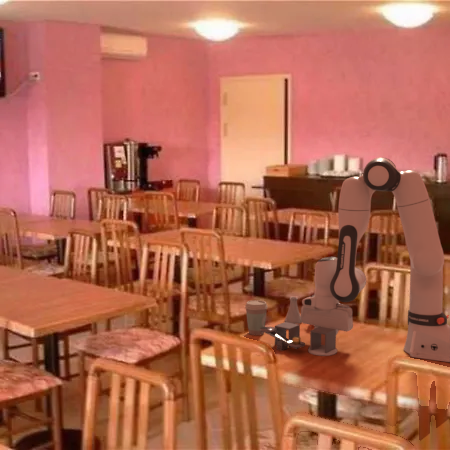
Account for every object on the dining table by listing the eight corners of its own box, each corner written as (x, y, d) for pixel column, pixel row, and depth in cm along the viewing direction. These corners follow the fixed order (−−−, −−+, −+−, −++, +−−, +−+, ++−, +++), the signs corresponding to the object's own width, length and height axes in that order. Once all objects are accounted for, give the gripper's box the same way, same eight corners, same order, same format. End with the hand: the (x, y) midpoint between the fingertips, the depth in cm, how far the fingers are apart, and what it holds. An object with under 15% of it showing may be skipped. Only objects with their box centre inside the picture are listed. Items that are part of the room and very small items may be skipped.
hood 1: (299, 343, 279) (299, 324, 278) (289, 347, 274) (289, 328, 273) (285, 340, 283) (285, 321, 282) (275, 344, 278) (275, 325, 277)
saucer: (342, 350, 270) (342, 348, 270) (327, 357, 263) (327, 355, 262) (318, 345, 276) (318, 343, 276) (302, 352, 269) (302, 350, 269)
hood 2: (335, 348, 270) (335, 329, 269) (326, 353, 265) (326, 333, 264) (319, 345, 274) (320, 326, 273) (310, 349, 269) (310, 330, 268)
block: (333, 343, 279) (334, 331, 279) (328, 345, 276) (328, 333, 275) (324, 341, 282) (324, 329, 281) (318, 343, 279) (318, 331, 278)
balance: (308, 351, 270) (308, 334, 269) (298, 355, 265) (298, 338, 264) (266, 342, 281) (266, 325, 280) (256, 346, 276) (256, 329, 275)
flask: (301, 325, 304) (301, 300, 303) (283, 324, 305) (283, 299, 304) (303, 320, 311) (303, 296, 310) (285, 319, 312) (285, 295, 311)
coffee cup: (265, 336, 288) (265, 305, 286) (243, 335, 290) (243, 304, 288) (269, 330, 296) (269, 300, 295) (247, 329, 298) (247, 299, 296)
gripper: (356, 304, 273) (356, 341, 275) (307, 296, 285) (307, 332, 287) (347, 307, 268) (347, 346, 270) (298, 299, 281) (298, 336, 282)
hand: (326, 338), depth 279 cm, fingers closed on block, 4 cm apart
